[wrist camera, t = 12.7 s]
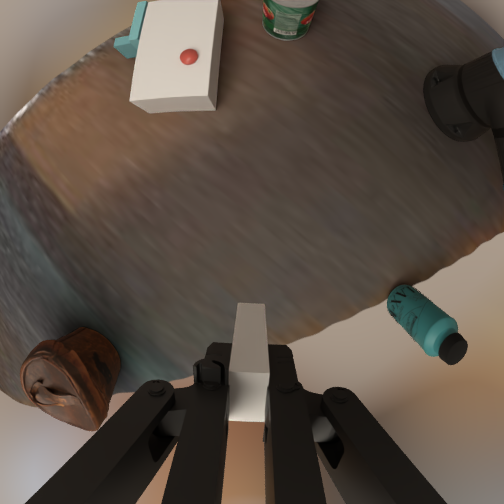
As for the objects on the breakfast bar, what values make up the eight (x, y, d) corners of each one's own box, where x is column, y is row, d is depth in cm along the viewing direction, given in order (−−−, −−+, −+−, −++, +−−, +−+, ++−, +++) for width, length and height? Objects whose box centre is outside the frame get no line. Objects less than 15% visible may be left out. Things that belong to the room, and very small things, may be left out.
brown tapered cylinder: (47, 345, 51) (3, 387, 34) (84, 295, 48) (29, 338, 31) (102, 399, 54) (71, 451, 37) (149, 360, 51) (118, 423, 34)
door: (159, 21, 36) (146, 0, 29) (152, 56, 38) (137, 38, 31) (136, 25, 36) (121, 6, 29) (129, 60, 38) (110, 44, 31)
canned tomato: (256, 12, 36) (256, -25, 26) (299, 4, 36) (308, -31, 25) (271, 45, 38) (275, 11, 27) (315, 37, 37) (330, 4, 27)
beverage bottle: (411, 275, 46) (478, 322, 27) (413, 307, 48) (473, 362, 28) (380, 286, 47) (440, 341, 27) (383, 319, 48) (436, 381, 29)
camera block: (224, 12, 36) (219, -15, 28) (215, 110, 41) (207, 94, 32) (162, 17, 36) (147, -7, 28) (147, 113, 41) (126, 100, 32)
